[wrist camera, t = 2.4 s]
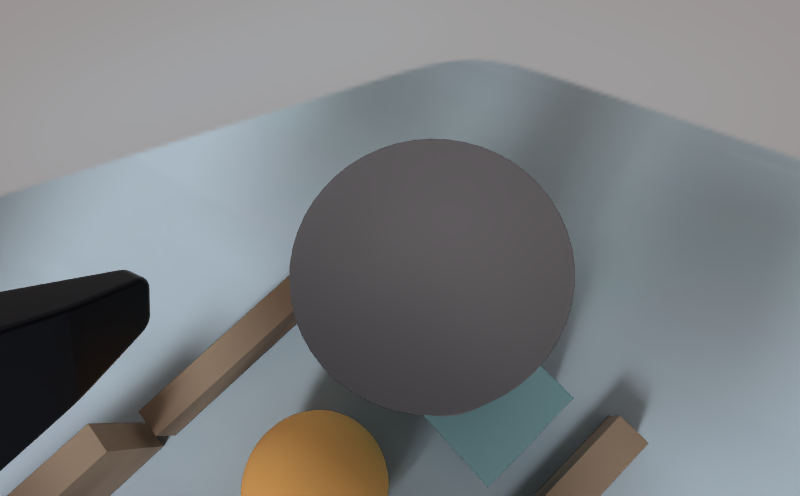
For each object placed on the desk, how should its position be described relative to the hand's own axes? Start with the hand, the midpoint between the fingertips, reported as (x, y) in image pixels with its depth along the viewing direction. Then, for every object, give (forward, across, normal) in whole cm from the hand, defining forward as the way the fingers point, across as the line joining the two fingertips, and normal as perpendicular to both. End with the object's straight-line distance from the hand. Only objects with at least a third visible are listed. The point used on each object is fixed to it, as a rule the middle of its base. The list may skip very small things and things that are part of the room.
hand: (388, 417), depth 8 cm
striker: (+8, 0, +6) cm, 10 cm away
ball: (+3, +2, +7) cm, 8 cm away
